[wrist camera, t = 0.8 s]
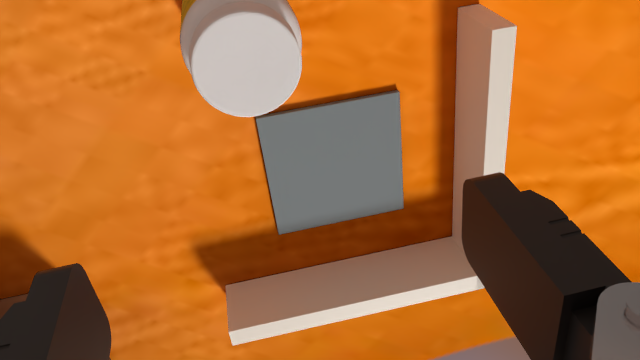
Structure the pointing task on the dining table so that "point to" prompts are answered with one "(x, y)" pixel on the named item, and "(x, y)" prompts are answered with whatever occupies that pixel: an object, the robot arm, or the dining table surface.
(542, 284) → the robot arm
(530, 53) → the dining table surface
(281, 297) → the corner arena
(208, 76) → the supplement bottle
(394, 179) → the pad
